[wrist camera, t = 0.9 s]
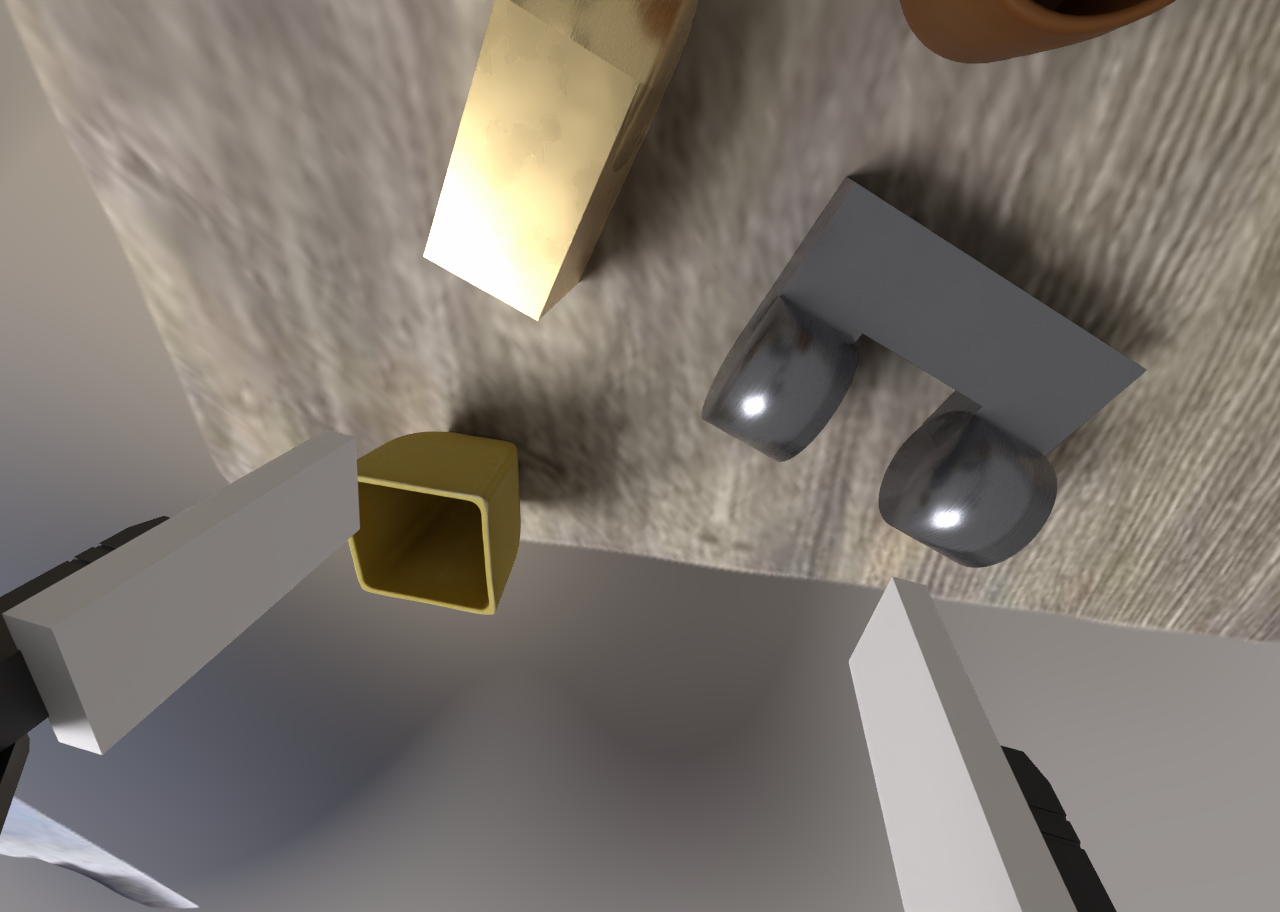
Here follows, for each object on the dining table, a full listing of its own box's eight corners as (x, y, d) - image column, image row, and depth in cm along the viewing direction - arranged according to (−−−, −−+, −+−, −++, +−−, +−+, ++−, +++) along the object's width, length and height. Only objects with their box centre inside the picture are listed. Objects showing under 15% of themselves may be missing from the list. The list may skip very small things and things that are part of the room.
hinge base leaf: (846, 176, 26) (873, 193, 20) (1111, 347, 28) (1207, 408, 22) (706, 384, 32) (696, 443, 27) (927, 512, 34) (963, 593, 28)
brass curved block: (589, -73, 23) (533, -140, 17) (705, 4, 24) (689, -35, 18) (488, 229, 30) (423, 256, 24) (579, 282, 31) (537, 320, 25)
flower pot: (415, 399, 37) (327, 472, 29) (541, 419, 36) (485, 499, 28) (432, 505, 41) (359, 591, 34) (544, 524, 40) (495, 618, 33)
